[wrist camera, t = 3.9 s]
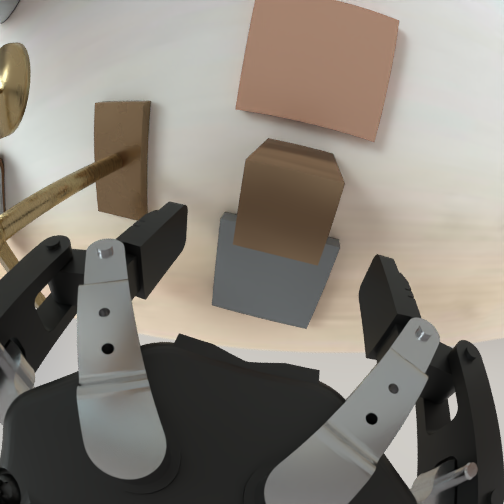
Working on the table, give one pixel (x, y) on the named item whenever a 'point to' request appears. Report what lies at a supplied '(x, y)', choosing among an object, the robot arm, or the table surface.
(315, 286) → the slate board
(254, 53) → the terracotta board
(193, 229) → the table surface
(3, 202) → the tin
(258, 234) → the walnut block
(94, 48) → the table surface
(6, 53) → the balance
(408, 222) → the table surface
